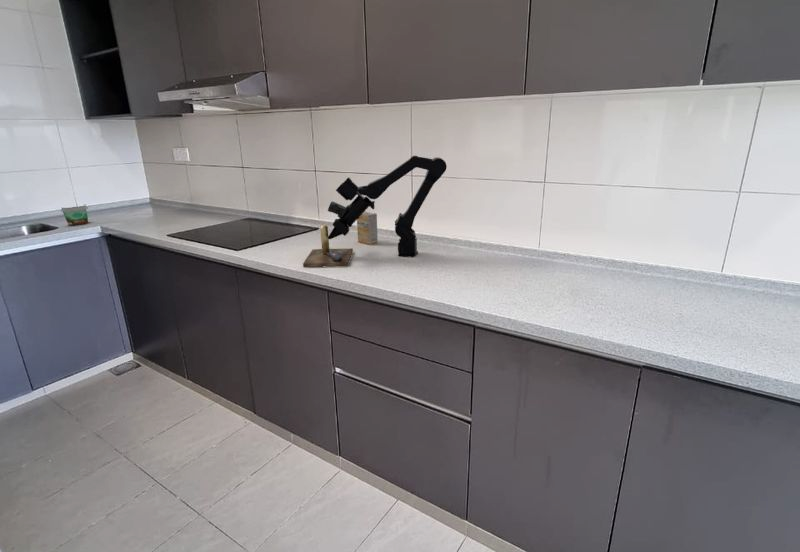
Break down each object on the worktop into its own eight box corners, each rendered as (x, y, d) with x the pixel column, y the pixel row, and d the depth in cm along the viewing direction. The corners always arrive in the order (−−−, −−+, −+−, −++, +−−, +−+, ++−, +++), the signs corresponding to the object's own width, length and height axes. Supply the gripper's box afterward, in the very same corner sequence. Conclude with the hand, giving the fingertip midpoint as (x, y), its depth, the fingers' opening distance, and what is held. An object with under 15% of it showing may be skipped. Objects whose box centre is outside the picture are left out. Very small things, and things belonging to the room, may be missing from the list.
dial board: (352, 252, 175) (352, 247, 174) (347, 266, 157) (347, 262, 156) (312, 252, 175) (312, 248, 174) (303, 267, 157) (302, 263, 156)
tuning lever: (326, 249, 172) (324, 223, 168) (343, 260, 158) (341, 231, 154) (317, 251, 170) (315, 224, 166) (334, 261, 156) (332, 233, 153)
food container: (70, 227, 233) (65, 208, 230) (65, 226, 236) (60, 207, 233) (95, 222, 243) (91, 204, 240) (90, 221, 246) (85, 204, 243)
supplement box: (357, 242, 189) (355, 212, 185) (365, 240, 193) (364, 210, 188) (369, 245, 184) (368, 214, 180) (378, 243, 187) (377, 212, 183)
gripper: (342, 190, 170) (316, 219, 174) (336, 198, 153) (308, 229, 156) (363, 210, 173) (337, 237, 177) (360, 219, 155) (331, 250, 159)
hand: (328, 238), depth 167 cm, fingers closed
